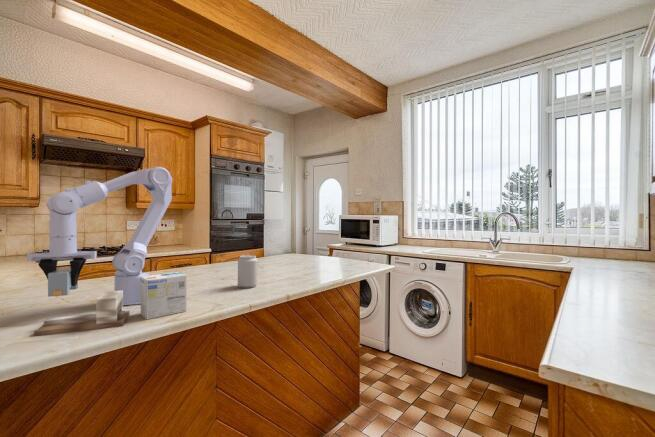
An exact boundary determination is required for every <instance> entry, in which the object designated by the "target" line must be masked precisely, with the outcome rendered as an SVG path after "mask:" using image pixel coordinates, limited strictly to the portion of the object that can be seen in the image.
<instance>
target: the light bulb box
mask: <svg viewBox="0 0 655 437" xmlns="http://www.w3.org/2000/svg"><path fill="white" fill-rule="evenodd" d="M149 275H150V274H149ZM140 296H141V304H140V315H141V316H142V317H143V318H144V319H145V320H151V319H155V318H160V317H165V316H170V315H173V314H179V313H183V312H187V311H188V310H187V308H188V307H187V274H186V273H183V272H181V271H175V272H168V273H160V274H152V275H150V276H141V277H140Z"/></svg>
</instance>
